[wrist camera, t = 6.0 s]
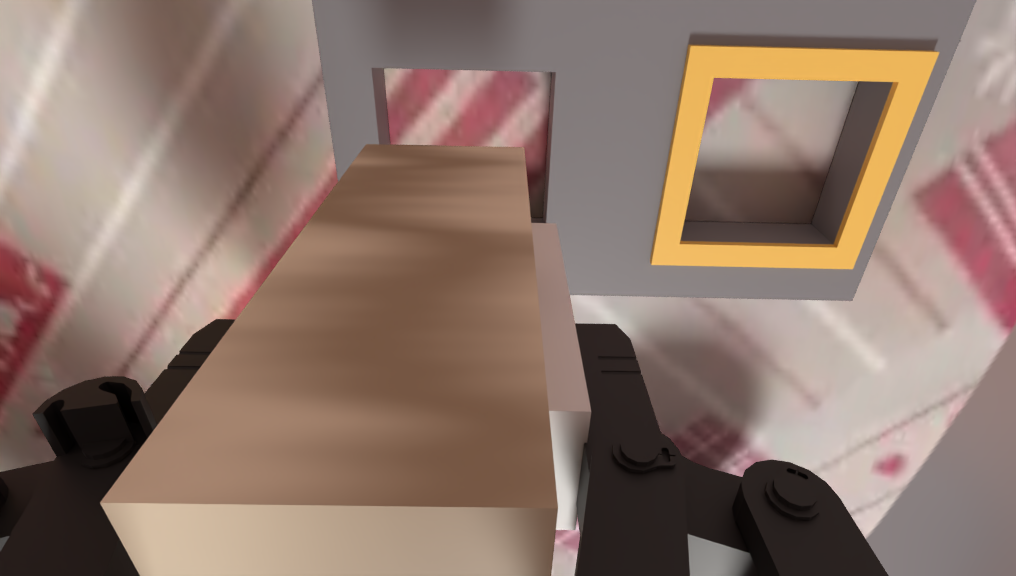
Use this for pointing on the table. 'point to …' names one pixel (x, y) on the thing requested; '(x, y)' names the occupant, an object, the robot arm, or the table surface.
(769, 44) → the peg board
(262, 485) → the wooden peg
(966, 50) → the table surface
